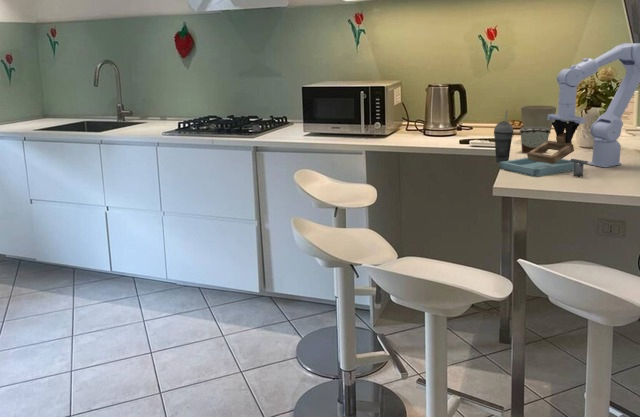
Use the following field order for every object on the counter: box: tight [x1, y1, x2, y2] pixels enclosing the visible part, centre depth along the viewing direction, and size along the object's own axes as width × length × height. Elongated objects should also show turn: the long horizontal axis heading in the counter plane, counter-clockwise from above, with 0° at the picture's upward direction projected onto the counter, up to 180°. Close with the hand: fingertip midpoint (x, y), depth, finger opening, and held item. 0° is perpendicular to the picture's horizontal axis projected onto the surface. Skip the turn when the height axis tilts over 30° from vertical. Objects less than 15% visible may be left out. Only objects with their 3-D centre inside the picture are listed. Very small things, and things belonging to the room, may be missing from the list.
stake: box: [570, 158, 589, 178], centre depth 215 cm, size 3×6×6 cm, turn 30°
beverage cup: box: [493, 109, 514, 164], centre depth 240 cm, size 7×7×20 cm
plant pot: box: [520, 104, 558, 132], centre depth 279 cm, size 15×15×16 cm
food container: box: [519, 127, 551, 154], centre depth 260 cm, size 12×6×10 cm, turn 85°
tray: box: [499, 157, 574, 178], centre depth 228 cm, size 22×17×2 cm
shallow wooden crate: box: [526, 131, 575, 164], centre depth 224 cm, size 15×11×4 cm
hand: (564, 142), depth 227 cm, fingers closed on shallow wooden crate, 3 cm apart
